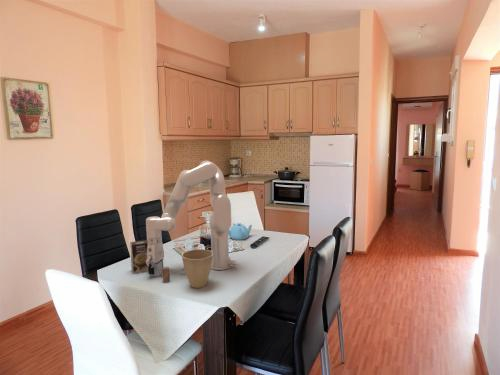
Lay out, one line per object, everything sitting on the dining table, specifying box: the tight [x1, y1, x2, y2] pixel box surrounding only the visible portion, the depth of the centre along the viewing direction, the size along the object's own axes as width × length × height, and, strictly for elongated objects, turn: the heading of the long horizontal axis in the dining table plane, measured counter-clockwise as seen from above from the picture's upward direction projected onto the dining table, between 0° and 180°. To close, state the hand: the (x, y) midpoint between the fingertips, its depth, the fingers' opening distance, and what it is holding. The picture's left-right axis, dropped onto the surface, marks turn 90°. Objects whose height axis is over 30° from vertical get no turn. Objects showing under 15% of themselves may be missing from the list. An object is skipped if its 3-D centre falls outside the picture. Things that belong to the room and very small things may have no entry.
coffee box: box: [129, 239, 148, 274], centre depth 199 cm, size 9×6×16 cm
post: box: [161, 266, 171, 283], centre depth 183 cm, size 3×3×7 cm
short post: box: [182, 266, 187, 276], centre depth 193 cm, size 3×3×4 cm
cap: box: [149, 260, 164, 277], centre depth 194 cm, size 5×5×7 cm
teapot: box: [228, 222, 253, 241], centre depth 260 cm, size 15×15×11 cm
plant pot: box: [181, 248, 213, 289], centre depth 177 cm, size 15×15×16 cm
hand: (156, 271), depth 194 cm, fingers open, 9 cm apart
